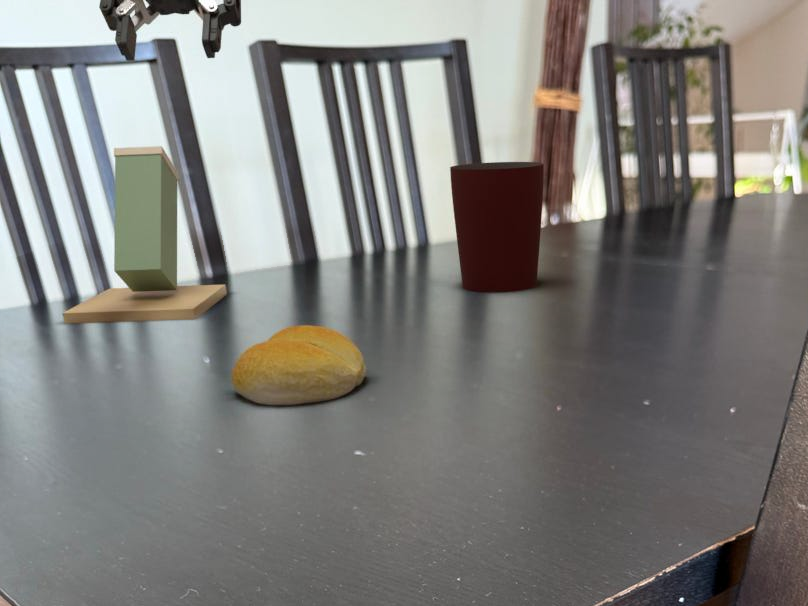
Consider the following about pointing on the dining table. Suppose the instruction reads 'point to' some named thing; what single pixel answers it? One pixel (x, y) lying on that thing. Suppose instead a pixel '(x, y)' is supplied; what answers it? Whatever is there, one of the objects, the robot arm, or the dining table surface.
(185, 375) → the dining table surface
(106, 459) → the dining table surface
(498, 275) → the mug
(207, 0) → the robot arm
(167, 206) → the post
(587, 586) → the dining table surface
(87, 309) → the post base
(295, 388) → the bread roll
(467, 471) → the dining table surface
